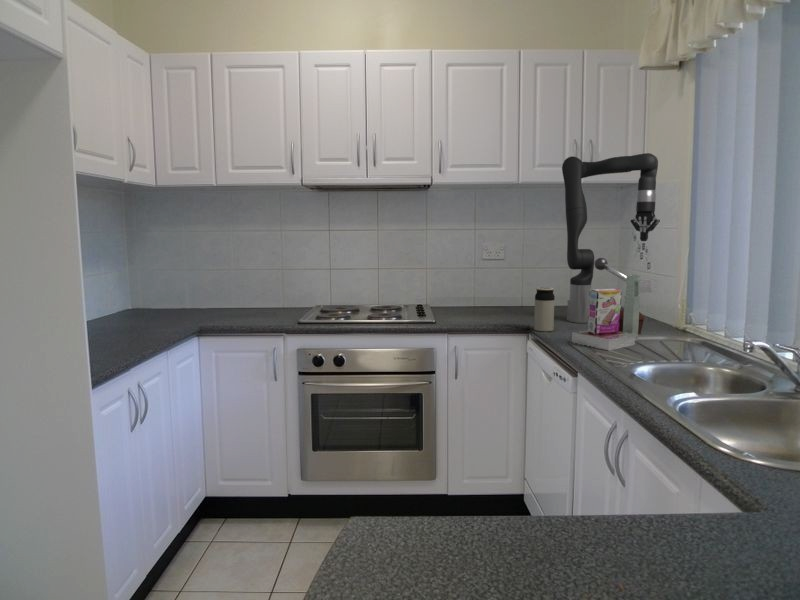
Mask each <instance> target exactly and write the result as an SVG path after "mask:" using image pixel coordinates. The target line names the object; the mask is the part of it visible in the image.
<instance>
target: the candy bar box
mask: <svg viewBox="0 0 800 600" xmlns="http://www.w3.org/2000/svg"><path fill="white" fill-rule="evenodd" d="M622 291H623V290H622V289H618V288H597V289H591V290H590V295H589V313H588V323H587V329H586V330H587V332H588V333H591V334H595V335H596V334H608V333H619V322H620V311H621V309H622V308H621V307H622V305H621V304H622Z"/></svg>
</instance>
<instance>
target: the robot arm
mask: <svg viewBox="0 0 800 600" xmlns="http://www.w3.org/2000/svg"><path fill="white" fill-rule="evenodd" d="M658 167H659V160H658V157H657V156H656V155H654V154H653V153H650V152H649V153H648V152H647V153H645V152H644V153H639V154H633V155H623V156H616V157H609V158H605V159H602V160H599V161H582V160H581V159H580V158H578V157H577V156H569V157H567V158H565V160H564V161H563V163H562V165H561V172H562V176H563V182H564V191H565V192H564V197H565V198H564V199H565V200H564V201H565V203H564V204H565V221H566V235H567V237H566V240H567V242H566V243H567V251H566V259H567V260H566V261H567V265H568V266H567V267H568V268H569V269H570V270H575V271H576V270H580V272H579V273H578V274H577V275H575V276H572V277H571V278H570V279H569V280H570V281H569V283H570V285H569V299H568V300H567V312H566V313H567V314H566V321H568V322H571V323H577V324H586V323H587V324H588V313H589V295H590V290H592V282H593V281H592V280H593V277H594V267H595V254H594V251H593V250H592V249H590V248H579V237H580V235H581V234H582V232H583V230H584V228H585V226H586V224H587V221H588V208H587V207H588V206H587V201H586V197H585V193H584V192H583V188H582V187H583V186H582V179H584V178H588V177H594V176H598V175H600V176H601V175H609V174H622V173H631V172H634V171H639V172H640V174H639V175H640V176H639V179H638V182H637V184H638V185H637V194H636V207H635V211H636V215H635V216H634V218H633V219H631V220H630V223H631V225H632V226H633V227H634V229H635V230H636V232H639V233H640V234H639V240H640V241H641V242H647V241H648V239H649V232H653V231H654V230H655V228H656V227H657V225H659V223H660V221H661V220H660V219H659V218H658V219H657V217H656V215H655V214H656V213H655V212H656V200H657V196H656V195H657V194H656V191H657V189H656V186H657V176H658V175H657V174H658Z"/></svg>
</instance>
